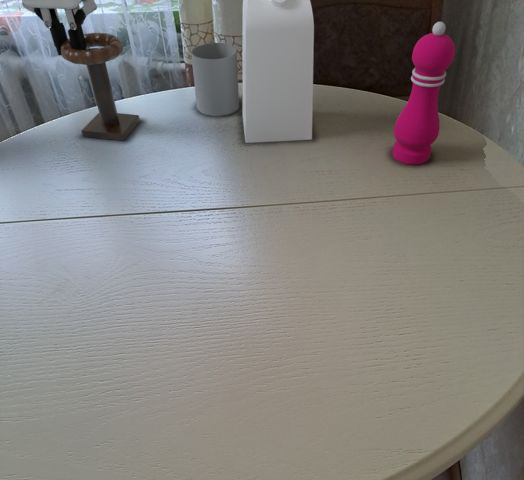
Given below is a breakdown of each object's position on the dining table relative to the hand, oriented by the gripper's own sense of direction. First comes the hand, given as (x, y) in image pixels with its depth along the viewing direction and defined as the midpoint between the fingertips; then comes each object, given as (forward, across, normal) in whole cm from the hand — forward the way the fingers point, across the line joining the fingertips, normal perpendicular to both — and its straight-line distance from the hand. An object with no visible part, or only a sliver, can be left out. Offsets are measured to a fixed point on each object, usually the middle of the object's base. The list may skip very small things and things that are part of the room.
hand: (72, 52), depth 85 cm
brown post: (+13, +4, 0) cm, 13 cm away
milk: (+13, +34, +7) cm, 37 cm away
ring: (-1, +4, 0) cm, 4 cm away
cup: (+13, +21, +13) cm, 28 cm away
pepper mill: (+13, +59, +1) cm, 60 cm away
